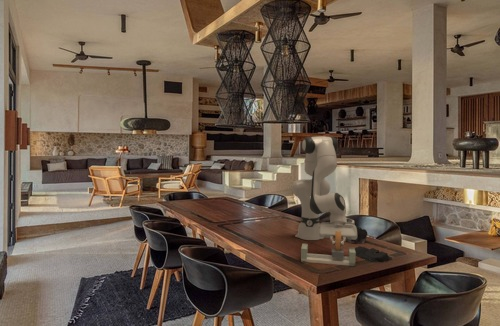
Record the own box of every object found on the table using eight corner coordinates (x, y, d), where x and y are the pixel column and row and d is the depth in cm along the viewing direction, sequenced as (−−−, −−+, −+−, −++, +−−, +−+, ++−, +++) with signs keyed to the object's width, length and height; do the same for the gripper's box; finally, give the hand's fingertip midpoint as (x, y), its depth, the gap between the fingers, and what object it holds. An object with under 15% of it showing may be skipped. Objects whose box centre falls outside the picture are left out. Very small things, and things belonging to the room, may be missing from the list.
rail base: (302, 256, 210) (302, 243, 210) (353, 260, 204) (354, 247, 204) (300, 261, 200) (301, 248, 200) (355, 266, 194) (355, 252, 194)
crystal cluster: (341, 242, 243) (342, 227, 242) (350, 236, 254) (351, 222, 252) (360, 248, 235) (361, 233, 233) (369, 242, 245) (370, 227, 243)
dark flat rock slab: (365, 250, 226) (365, 242, 226) (394, 260, 206) (394, 252, 206) (345, 253, 219) (345, 245, 219) (373, 264, 199) (374, 255, 199)
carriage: (331, 253, 206) (332, 229, 205) (343, 253, 204) (343, 230, 204) (331, 257, 198) (332, 232, 197) (343, 258, 196) (344, 233, 196)
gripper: (319, 218, 209) (318, 240, 200) (357, 220, 205) (358, 243, 196) (319, 224, 213) (318, 246, 204) (356, 227, 209) (357, 249, 200)
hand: (337, 244), depth 200 cm, fingers closed on carriage, 3 cm apart
